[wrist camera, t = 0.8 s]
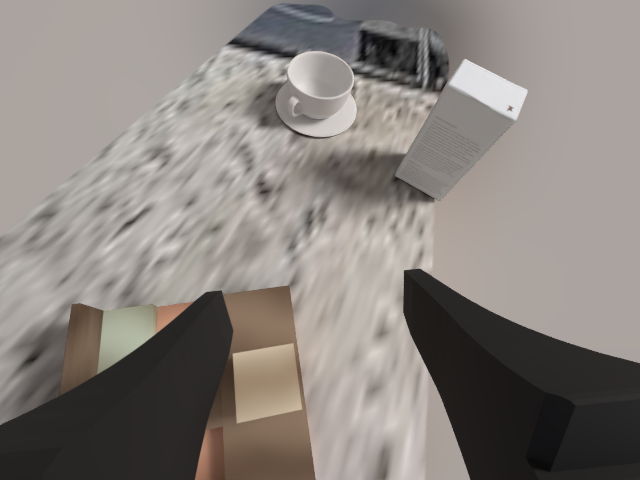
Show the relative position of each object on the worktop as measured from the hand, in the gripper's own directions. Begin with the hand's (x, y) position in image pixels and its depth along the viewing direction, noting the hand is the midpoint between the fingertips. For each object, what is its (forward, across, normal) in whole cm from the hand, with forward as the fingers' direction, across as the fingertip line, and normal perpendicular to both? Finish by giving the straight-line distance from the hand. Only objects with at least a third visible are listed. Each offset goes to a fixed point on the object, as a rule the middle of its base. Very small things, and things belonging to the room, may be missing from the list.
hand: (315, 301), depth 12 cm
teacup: (+30, -1, -6) cm, 31 cm away
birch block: (+7, +5, +12) cm, 14 cm away
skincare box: (+24, -13, +2) cm, 27 cm away
